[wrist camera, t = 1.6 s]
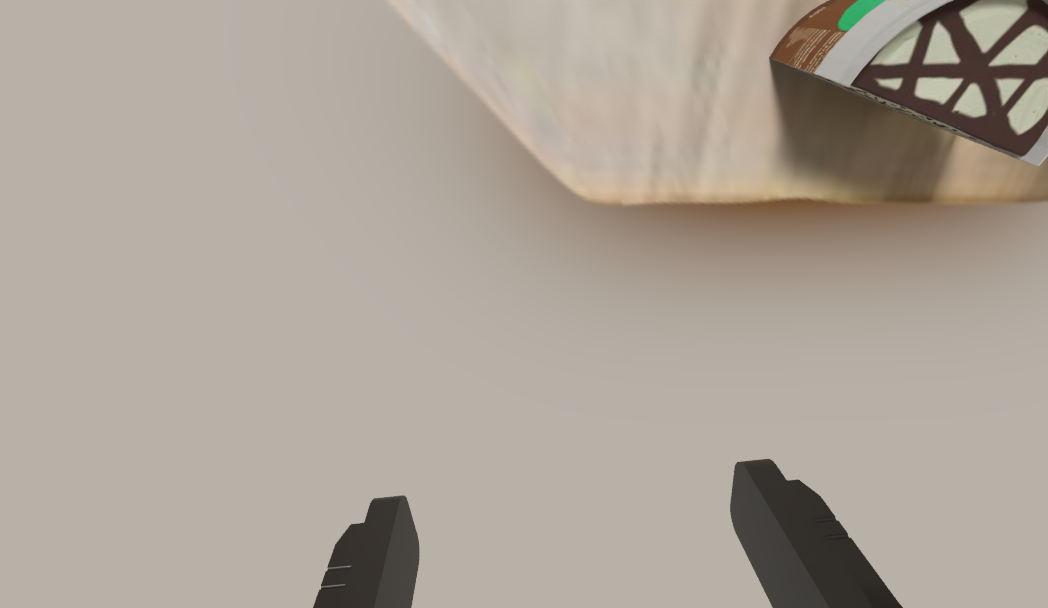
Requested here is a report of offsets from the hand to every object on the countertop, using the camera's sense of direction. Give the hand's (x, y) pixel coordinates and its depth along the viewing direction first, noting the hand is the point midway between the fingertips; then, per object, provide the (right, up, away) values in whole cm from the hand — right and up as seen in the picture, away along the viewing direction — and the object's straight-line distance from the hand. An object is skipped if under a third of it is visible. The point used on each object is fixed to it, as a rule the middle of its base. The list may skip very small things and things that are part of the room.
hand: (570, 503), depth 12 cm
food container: (+19, +21, +17) cm, 33 cm away
